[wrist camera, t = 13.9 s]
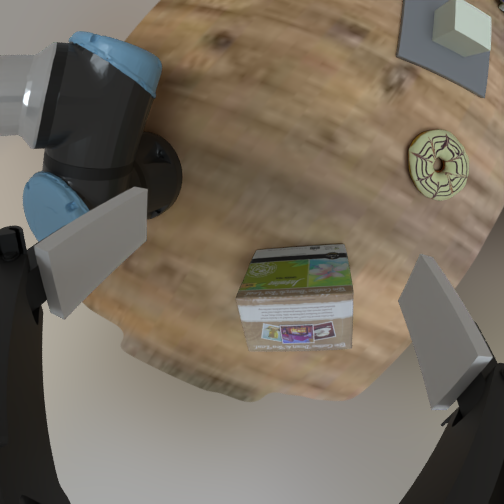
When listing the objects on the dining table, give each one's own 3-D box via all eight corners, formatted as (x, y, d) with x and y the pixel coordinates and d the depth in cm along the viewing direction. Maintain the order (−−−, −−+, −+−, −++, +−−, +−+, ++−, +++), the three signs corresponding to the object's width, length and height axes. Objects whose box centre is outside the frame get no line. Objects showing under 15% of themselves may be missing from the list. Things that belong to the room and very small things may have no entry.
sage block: (432, 40, 27) (454, 29, 20) (434, 10, 24) (455, -4, 17) (464, 57, 26) (490, 50, 19) (466, 27, 24) (491, 17, 17)
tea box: (344, 240, 45) (356, 292, 32) (346, 292, 50) (354, 351, 37) (254, 247, 49) (233, 299, 36) (263, 297, 53) (248, 355, 40)
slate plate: (395, 57, 31) (398, 55, 30) (404, -21, 23) (406, -24, 22) (481, 97, 29) (484, 97, 28) (487, 21, 22) (490, 20, 21)
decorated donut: (443, 117, 33) (454, 118, 30) (469, 177, 36) (480, 183, 33) (393, 146, 37) (400, 149, 34) (422, 206, 40) (430, 213, 37)
